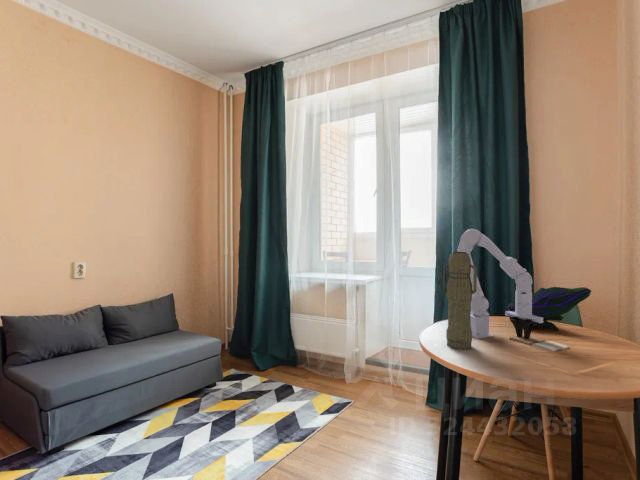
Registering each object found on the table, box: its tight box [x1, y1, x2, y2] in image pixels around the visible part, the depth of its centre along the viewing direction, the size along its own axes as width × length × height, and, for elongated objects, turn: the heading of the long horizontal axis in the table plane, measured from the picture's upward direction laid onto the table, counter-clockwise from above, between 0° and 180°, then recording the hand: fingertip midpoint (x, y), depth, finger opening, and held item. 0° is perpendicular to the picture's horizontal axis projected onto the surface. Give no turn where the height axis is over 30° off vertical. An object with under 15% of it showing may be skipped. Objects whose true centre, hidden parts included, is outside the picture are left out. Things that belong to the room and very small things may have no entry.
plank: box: [509, 334, 547, 346], centre depth 144 cm, size 10×8×1 cm
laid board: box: [530, 340, 571, 353], centre depth 136 cm, size 10×8×1 cm
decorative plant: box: [505, 286, 592, 332], centre depth 167 cm, size 21×26×30 cm
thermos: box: [442, 251, 478, 351], centre depth 138 cm, size 9×12×35 cm
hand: (523, 337), depth 145 cm, fingers closed on plank, 2 cm apart
